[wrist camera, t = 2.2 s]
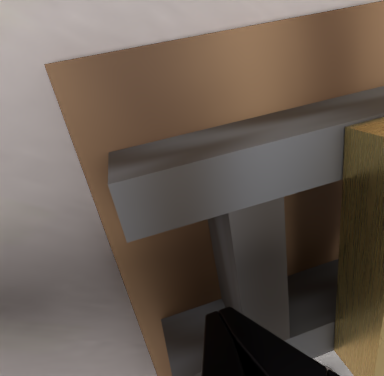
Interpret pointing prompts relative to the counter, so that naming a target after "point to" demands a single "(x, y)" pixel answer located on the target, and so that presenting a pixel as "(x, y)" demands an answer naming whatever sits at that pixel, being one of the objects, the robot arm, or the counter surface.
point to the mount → (226, 171)
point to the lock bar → (362, 252)
